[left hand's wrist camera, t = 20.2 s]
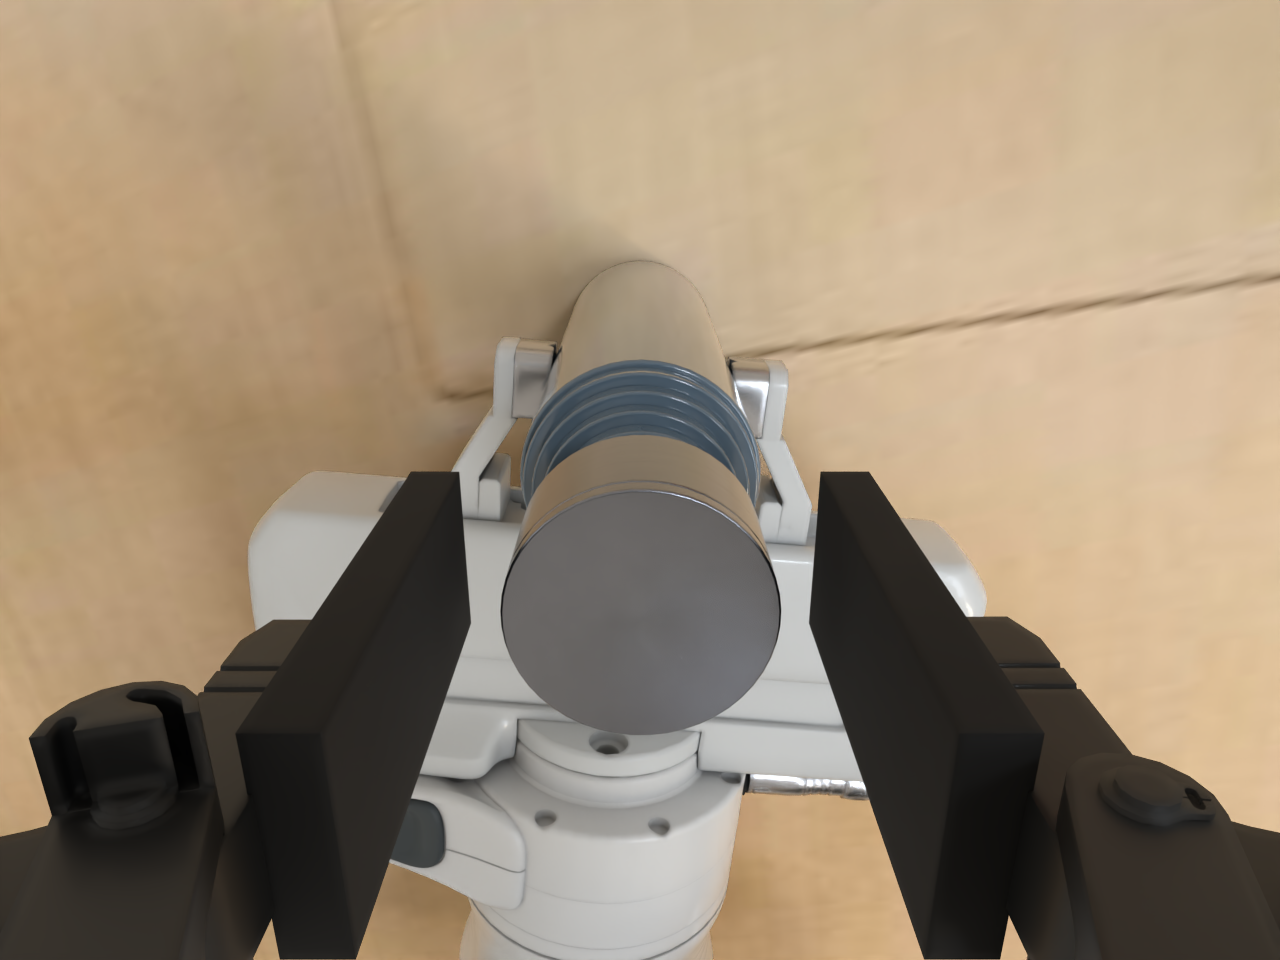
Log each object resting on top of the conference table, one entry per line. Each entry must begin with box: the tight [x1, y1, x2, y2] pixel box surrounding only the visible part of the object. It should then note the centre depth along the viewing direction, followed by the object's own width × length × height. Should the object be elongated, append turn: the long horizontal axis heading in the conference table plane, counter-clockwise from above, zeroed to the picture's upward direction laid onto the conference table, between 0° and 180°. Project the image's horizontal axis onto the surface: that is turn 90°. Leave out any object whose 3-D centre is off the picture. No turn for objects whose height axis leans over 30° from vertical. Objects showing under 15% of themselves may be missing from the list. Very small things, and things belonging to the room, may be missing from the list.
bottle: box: [520, 261, 761, 509], centre depth 22 cm, size 5×5×18 cm
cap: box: [500, 435, 781, 735], centre depth 13 cm, size 4×4×2 cm
